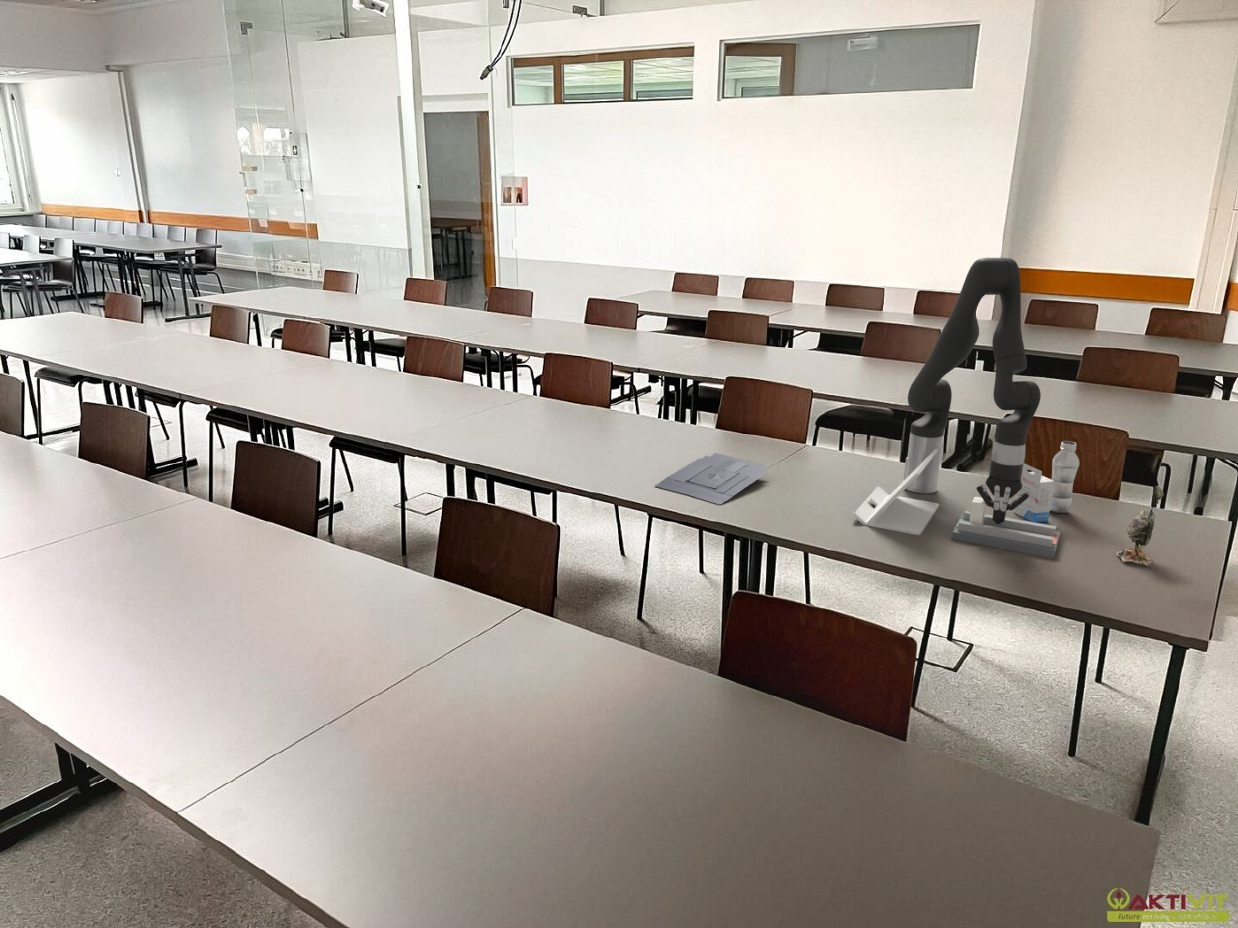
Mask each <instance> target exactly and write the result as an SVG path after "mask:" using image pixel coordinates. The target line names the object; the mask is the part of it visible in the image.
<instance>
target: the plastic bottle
mask: <svg viewBox="0 0 1238 928" xmlns="http://www.w3.org/2000/svg"><path fill="white" fill-rule="evenodd" d="M1059 449H1060V450H1059V451H1058V452H1057V453H1056V454H1055V455H1054V457H1053V458H1052V469H1051V471H1052V472H1051V473H1052V474H1051V480H1053V481H1055V482H1054V488H1053V494H1052V500H1051V506H1050V512H1053V513H1058V514H1065V513H1066V514H1067V513H1068V512H1069V511H1071V507H1072V506H1073V497H1072V496H1073V486H1074V481H1075V478H1076V476H1077V471H1078V469H1079V467H1080V459H1079V457H1078V455H1077V454H1076V451H1077V443H1076V442H1074V441H1070V440H1069V441H1068V440H1063V441H1061V443H1060V447H1059Z"/></svg>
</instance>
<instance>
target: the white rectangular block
mask: <svg viewBox="0 0 1238 928" xmlns="http://www.w3.org/2000/svg"><path fill="white" fill-rule="evenodd" d="M986 508H987V505H986V503H985V502H984V500H983V498H982V497H981V496H980V497H978V496H974V497H973V499H972V501H971V505H970V511H971V513H970V520H969V522H972V523H978V524H983V523H984V516H985V514H986Z"/></svg>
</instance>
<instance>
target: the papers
mask: <svg viewBox="0 0 1238 928" xmlns="http://www.w3.org/2000/svg"><path fill="white" fill-rule="evenodd" d="M769 468H771V465H767V464H762V463H758V462H754V461H749V460H746V459H742V458H738V457H732V456H730V455H726V454H723V453H722V454H721V453H717V452H715V453H712V454H711V455H710V456H709V455H705V456H703V457H701V458H698V459H696V460H694V461H691V462H690V463H689V464H687V465H685V466H684V467H682V468H680V469H678V470H676V471H675V472H674V473H672V474H670V475H668V476H667V477H665V478H664V479H662V480H661V481H660V482H659V483H656V484H655V485H654V487H655V488H656V487H657V488H660V489H664V490H669V491H672V492H675V493H680V494H684V495H688V496H691V497H695V498H697V499H700V500H704V501H707V502H710V503H714V504H717V505H720V506H721V505H722V504H723V503H725V502H727V501H729V500H730V499H731V498H733V497H734V496H735V495H737V494H739V492H741V491H742V490H745V488H747V487H748V486H750V485H751V484H753V483H754V482H756V481H757V480H758V481H759V480H760V478H762V477H763V476H764V475H765V474H766V473H767V472H768V469H769Z"/></svg>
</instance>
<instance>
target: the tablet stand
mask: <svg viewBox="0 0 1238 928" xmlns="http://www.w3.org/2000/svg"><path fill="white" fill-rule="evenodd" d="M937 452H938V450H937V449H935V450H934V451H933V452H932V453H931V454H930V455H929V456H928V457H927V458H926V459H925V460H924V461H923V462H922V463H921V464H920V465H919V466H918V467H917V468H916V469H915V470H914V471H913V472H912V473H911V474H910V475H909V476H908V477H907V478H906V479H905V480H904V479H903V481H902V482H901V483H900V484H899V485H898V486H897V487H896V488H895V489H894V490H893V491H892V492H891V493H890V494H889V493H887V491H885V489H883V488H882V487H881V486H879V485H878V486H877V487H875V489H874V490H873V491H872V492H871V493H870V494H869V496H868V497H867V498H866V499H865V500H864V501H863V502H862V504H861V505H860V506H859V507H857V509H856V510H855V511H853V514H852V516H853V517H854V518H855V519H856V520H857V521H858V522H859V523H861V524H862V525H864V526H870V527H874V528H878V529H879V528H880V529H883V530H884V529H885V530H889V531H895V532H900V533H904V534H911V535H915V536H920V535H921V534H922V533H923V531H924V530H925V529H926V527H927V525H928V524H929V522H930V521H931V519H932V518H933V516H934V515H935V513H936V512H937V510H938V509H939V507H940V503H938V502H933V501H932V502H931V501H928V500H921V499H915V498H909V497H906V496H905V497H904V496H899V495H900V494H901V493H902V492H904V490H906V489H905V488H906V487H907V486H908V485H909V484H910V483H911V482H912V481H913V480H914V479H915V478H916V477H917V476H918V475H919V474H920V473H921V472H922V470H923V469H924V468H925V467H926V465H927V464H928V463H929V462H930V460H931V459H932V458H933V457H934V455H935V454H936V453H937ZM869 502H870V503H871V504H872V505H874V506H875V507H874V508H873V506H871V505H870V504H869Z"/></svg>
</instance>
